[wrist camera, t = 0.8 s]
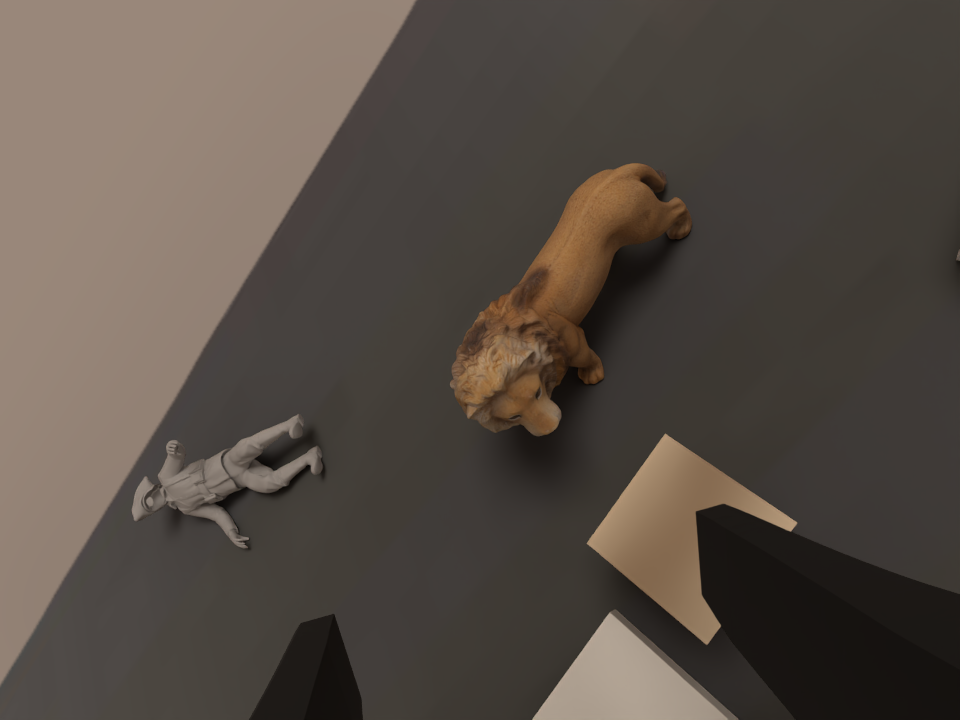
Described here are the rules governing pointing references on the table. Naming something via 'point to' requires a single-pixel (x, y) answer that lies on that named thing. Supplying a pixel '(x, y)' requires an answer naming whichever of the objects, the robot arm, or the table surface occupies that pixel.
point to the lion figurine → (558, 302)
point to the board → (628, 682)
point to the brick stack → (673, 530)
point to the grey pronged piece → (221, 478)
